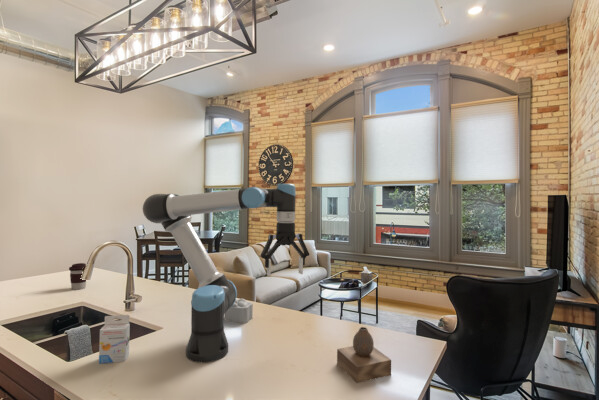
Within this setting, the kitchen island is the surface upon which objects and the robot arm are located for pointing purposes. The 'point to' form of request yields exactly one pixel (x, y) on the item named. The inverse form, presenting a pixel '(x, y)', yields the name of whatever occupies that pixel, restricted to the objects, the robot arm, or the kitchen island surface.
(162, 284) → the kitchen island surface
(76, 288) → the coffee cup
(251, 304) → the grey angular block
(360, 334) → the vase
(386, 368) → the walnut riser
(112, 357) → the ink box
